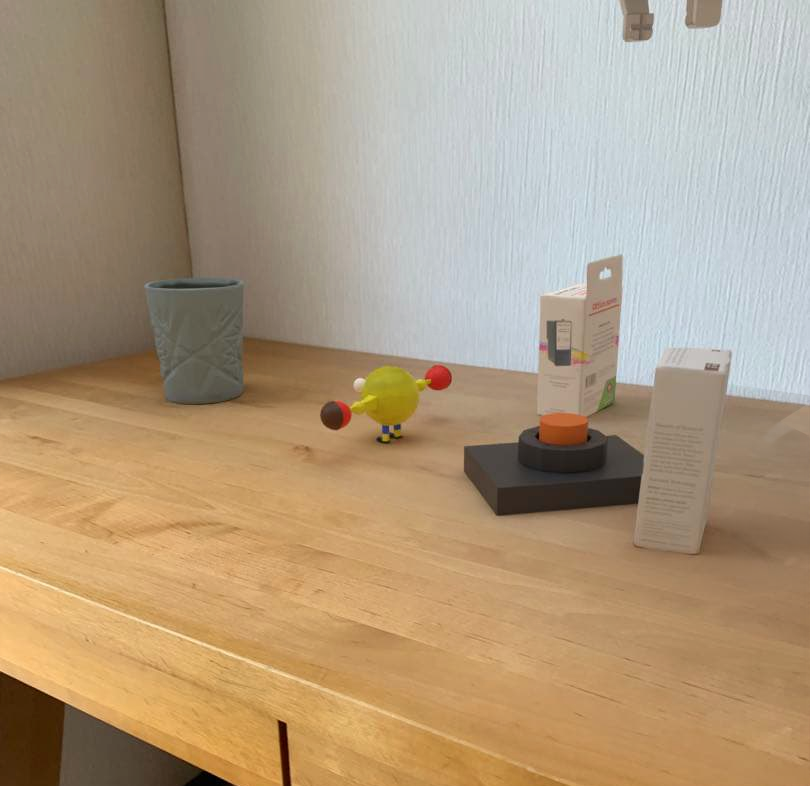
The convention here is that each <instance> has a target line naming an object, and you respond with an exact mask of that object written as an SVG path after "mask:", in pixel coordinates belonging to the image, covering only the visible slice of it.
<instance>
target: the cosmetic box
mask: <svg viewBox="0 0 810 786" xmlns="http://www.w3.org/2000/svg"><path fill="white" fill-rule="evenodd" d="M732 355H733V353H732V350H730V349H724V348H705V347H704V348H700V347H666V348H665V350H664V351H663V353H662V356H661V357H660V359H659V361H658V363H657V364H656V366H655V368H654V371H655V372H654V379H653V385H652V393H651V401H650V406H649V413H648V414H649V415H648V421H647V429H646V437H645V444H644V445H645V446H644V453H643V455H644V461H643V467H642V478H641V486H640V493H639V502H638V504H637V510H636V511H637V512H636V518H635V528H634V536H633V545H634V546H635V547H639V548H644V549H648V550H654V551H655V550H656V551H663V552H664V551H665V552H671V553H677V554H683V555H685V554H686V555H697V554H698V553H699V552H700V548H701V544H702V540H703V536H704V532H705V529H706V524H707V521H708V515H709V514H708V513H709V507H710V503H711V496H712V495H711V494H712V488H713V481H714V475H715V469H716V464H717V463H716V462H717V456H718V449H719V444H720V443H719V442H720V435H721V430H722V422H723V415H724V410H725V402H726V396H727V392H728V383H729V378H730V370H731V363H732Z"/></svg>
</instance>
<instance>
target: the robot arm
mask: <svg viewBox="0 0 810 786" xmlns="http://www.w3.org/2000/svg"><path fill="white" fill-rule="evenodd" d="M618 1H619V5H620V9H621V13H622V16H623V19H622V34H621V37H622V40H623V41H624V42H625V43H641V42H647V41H649V40H650V39H651V38H652V36H653V34H654V33H653V32H654V28H653V25H654V21H655V13H654V12H652V13H651V12H650V7H649V5H650V4H649V0H618ZM685 7H686V8H685V11H686V15H685V18H684V19H685V20H684V24H685V26H686V28H687V29H689V30H690V29H691V30H693V29H694V30H697V29H698V30H703V29H709V28H714V27H717V26H718V25H719V24H720V21H721V17H722V9H723V0H686V6H685Z"/></svg>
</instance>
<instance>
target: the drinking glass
mask: <svg viewBox="0 0 810 786" xmlns="http://www.w3.org/2000/svg"><path fill="white" fill-rule="evenodd" d="M244 285H245V284H244V282H243V281H242V280H240V279H235V278H228V277H227V278H226V277H185V278H183V277H182V278H169V279H163V280H156V281H150V282H147V283H146V284H144V285H143V286H144V287H143V288H144V293H145V296H146V301H147V306H148V309H149V316H150V322H151V327H152V328H153V334H154V335H155V336H154V341H155V348H156V355H157V358H158V359H159V363H160V368H159V369H160V376H161V382H162V385H163V386H162V388H163V393H164V397H165V399H166V400H167V401H169V402H171V403H175V404H182V405H207V404H216V403H222V402H227V401H231V400H233V399H236V398H238V397H241V396H242V395H243V392H244V365H243V363H242V362H243V361H242V359H243V357H244V335H243V333H242V329H243V324H244Z"/></svg>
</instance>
